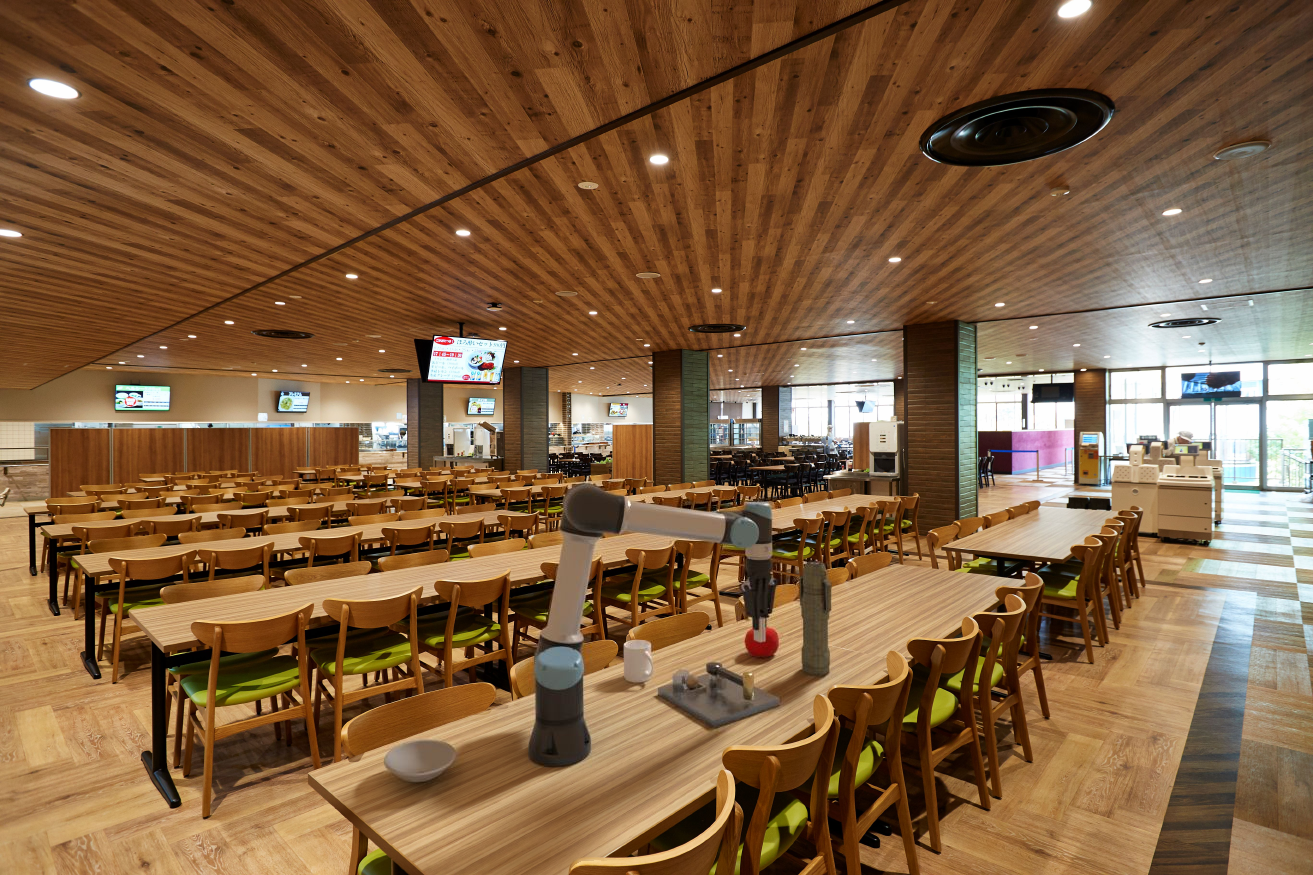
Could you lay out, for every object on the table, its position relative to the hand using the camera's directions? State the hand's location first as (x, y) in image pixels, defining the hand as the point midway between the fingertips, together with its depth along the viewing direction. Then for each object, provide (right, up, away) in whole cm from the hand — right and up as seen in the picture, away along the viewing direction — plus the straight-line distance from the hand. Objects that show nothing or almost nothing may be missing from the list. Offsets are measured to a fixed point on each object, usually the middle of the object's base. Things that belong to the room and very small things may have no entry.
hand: (759, 640), depth 175 cm
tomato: (+7, -19, +40) cm, 45 cm away
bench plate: (-12, -19, +4) cm, 22 cm away
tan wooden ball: (-19, -17, +7) cm, 26 cm away
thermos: (+22, -18, +25) cm, 38 cm away
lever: (-8, -15, +4) cm, 18 cm away
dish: (-82, -20, -36) cm, 92 cm away
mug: (-34, -19, +20) cm, 44 cm away
